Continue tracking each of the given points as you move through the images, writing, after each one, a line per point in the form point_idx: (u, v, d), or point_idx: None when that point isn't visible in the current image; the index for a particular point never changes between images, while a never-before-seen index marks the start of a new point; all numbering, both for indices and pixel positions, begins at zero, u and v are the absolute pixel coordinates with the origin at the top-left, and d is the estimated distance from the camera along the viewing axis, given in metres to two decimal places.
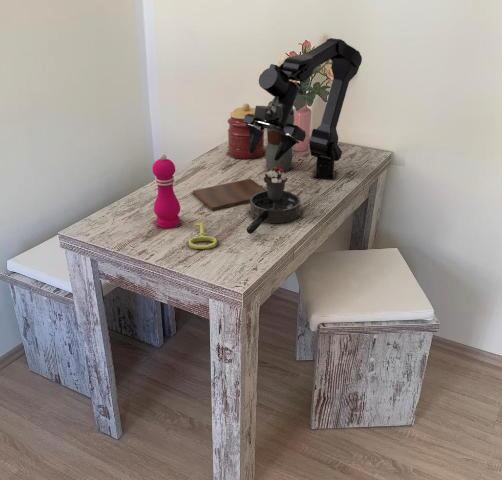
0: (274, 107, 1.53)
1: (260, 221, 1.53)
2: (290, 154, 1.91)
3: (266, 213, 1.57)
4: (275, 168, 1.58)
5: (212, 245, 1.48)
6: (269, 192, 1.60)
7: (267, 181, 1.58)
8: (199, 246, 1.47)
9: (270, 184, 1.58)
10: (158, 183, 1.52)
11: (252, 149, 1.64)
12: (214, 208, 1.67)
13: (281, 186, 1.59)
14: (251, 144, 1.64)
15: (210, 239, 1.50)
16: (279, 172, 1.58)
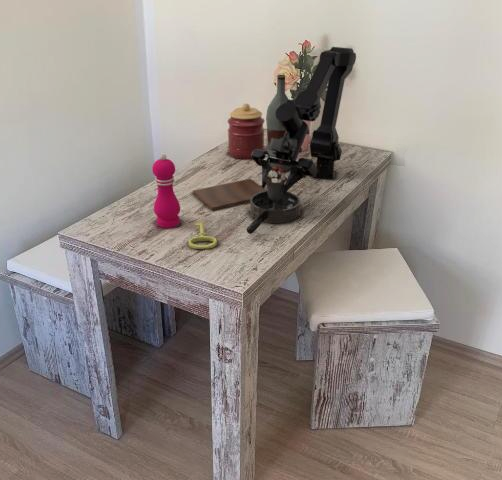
0: (291, 140, 1.54)
1: (260, 221, 1.53)
2: None
3: (266, 213, 1.57)
4: (275, 168, 1.58)
5: (212, 245, 1.48)
6: (269, 192, 1.60)
7: (267, 181, 1.58)
8: (199, 246, 1.47)
9: (270, 184, 1.58)
10: (158, 183, 1.52)
11: (264, 184, 1.62)
12: (214, 208, 1.67)
13: (281, 186, 1.59)
14: None
15: (210, 239, 1.50)
16: (279, 172, 1.58)
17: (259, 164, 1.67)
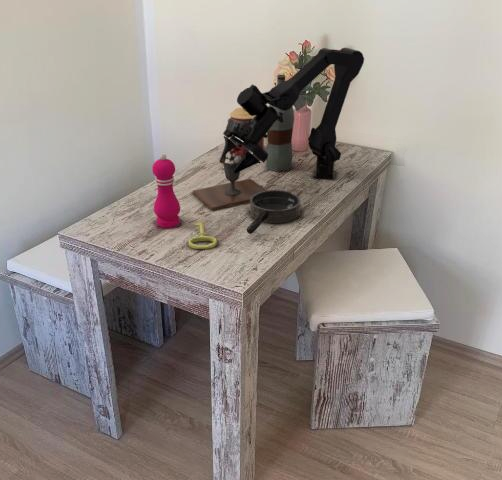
0: (242, 122, 1.62)
1: (260, 221, 1.53)
2: (290, 154, 1.91)
3: (266, 213, 1.57)
4: (231, 150, 1.69)
5: (212, 245, 1.48)
6: None
7: (222, 160, 1.70)
8: (199, 246, 1.47)
9: (223, 164, 1.70)
10: (158, 183, 1.52)
11: None
12: (214, 208, 1.67)
13: (232, 168, 1.69)
14: None
15: (210, 239, 1.50)
16: (233, 154, 1.68)
17: None
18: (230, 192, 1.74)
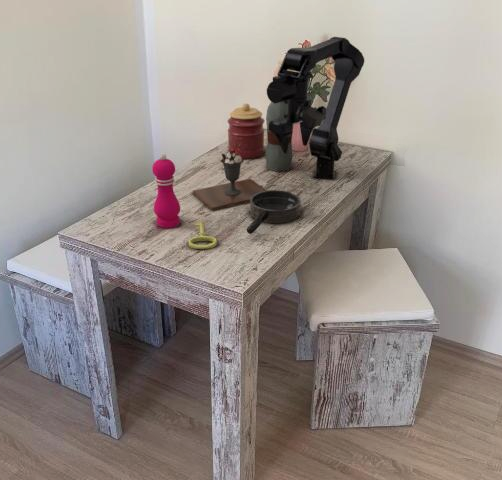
0: (324, 110, 1.64)
1: (260, 221, 1.53)
2: (290, 154, 1.91)
3: (266, 213, 1.57)
4: (231, 150, 1.69)
5: (212, 245, 1.48)
6: None
7: (222, 160, 1.70)
8: (199, 246, 1.47)
9: (223, 164, 1.70)
10: (158, 183, 1.52)
11: None
12: (214, 208, 1.67)
13: (232, 168, 1.69)
14: (287, 146, 1.68)
15: (210, 239, 1.50)
16: (233, 154, 1.69)
17: None
18: (230, 192, 1.74)
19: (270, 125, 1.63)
